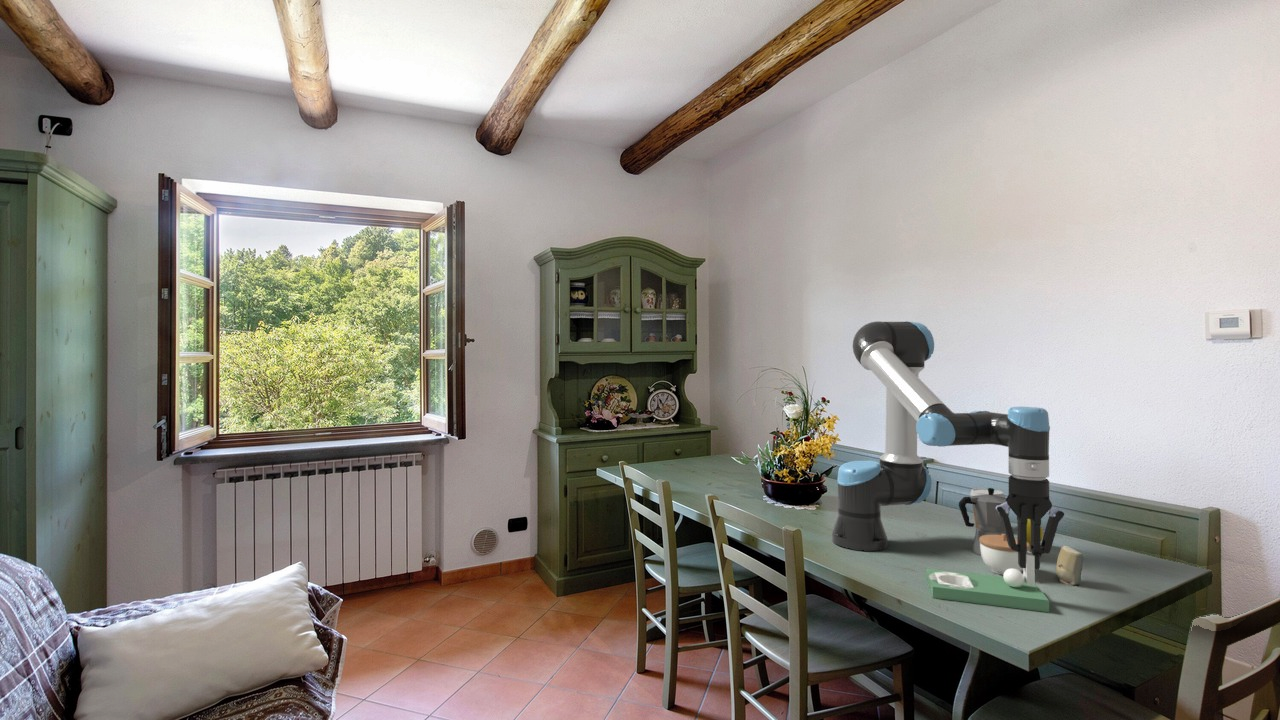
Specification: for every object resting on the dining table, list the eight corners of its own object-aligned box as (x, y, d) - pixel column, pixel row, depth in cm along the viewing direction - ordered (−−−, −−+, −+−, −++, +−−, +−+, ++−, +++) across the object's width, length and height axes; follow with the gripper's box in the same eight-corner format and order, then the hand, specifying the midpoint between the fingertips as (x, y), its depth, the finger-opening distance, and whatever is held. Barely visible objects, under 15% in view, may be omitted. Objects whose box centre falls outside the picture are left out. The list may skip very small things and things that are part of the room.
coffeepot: (1004, 547, 163) (1004, 484, 163) (1026, 559, 153) (1026, 491, 153) (950, 548, 163) (949, 484, 163) (969, 559, 153) (968, 492, 153)
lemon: (1035, 543, 166) (1035, 515, 166) (1047, 549, 161) (1047, 521, 161) (1015, 543, 167) (1015, 515, 167) (1026, 549, 161) (1026, 520, 161)
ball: (1005, 588, 127) (1005, 570, 127) (1001, 582, 131) (1001, 564, 131) (1026, 591, 126) (1026, 573, 126) (1021, 584, 129) (1021, 566, 129)
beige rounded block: (1089, 584, 136) (1089, 550, 136) (1079, 588, 133) (1078, 554, 133) (1062, 576, 141) (1061, 543, 141) (1051, 580, 138) (1051, 547, 138)
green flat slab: (932, 597, 129) (932, 586, 129) (926, 578, 140) (926, 568, 140) (1049, 612, 121) (1049, 600, 121) (1032, 590, 132) (1032, 580, 132)
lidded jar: (1031, 582, 137) (1030, 543, 137) (979, 574, 143) (978, 536, 143) (1029, 568, 146) (1028, 532, 146) (980, 561, 152) (979, 525, 152)
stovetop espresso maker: (1012, 533, 176) (1011, 494, 176) (980, 533, 176) (980, 494, 176) (993, 524, 185) (993, 487, 185) (963, 524, 185) (963, 487, 185)
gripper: (999, 478, 126) (999, 585, 126) (1069, 482, 122) (1070, 593, 122) (990, 471, 133) (991, 573, 133) (1057, 475, 129) (1057, 580, 129)
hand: (1028, 582), depth 127 cm, fingers closed
